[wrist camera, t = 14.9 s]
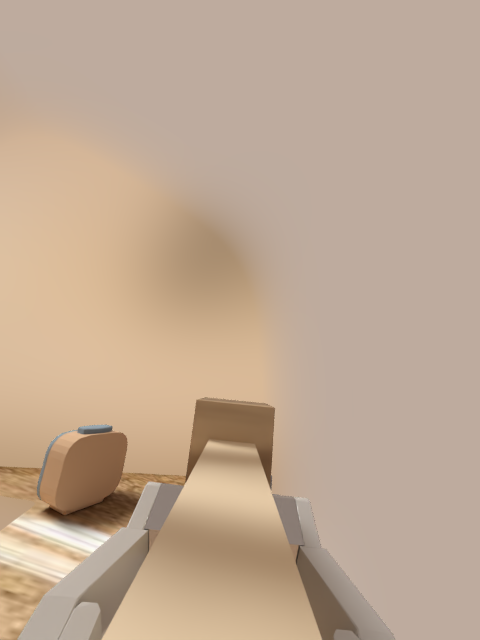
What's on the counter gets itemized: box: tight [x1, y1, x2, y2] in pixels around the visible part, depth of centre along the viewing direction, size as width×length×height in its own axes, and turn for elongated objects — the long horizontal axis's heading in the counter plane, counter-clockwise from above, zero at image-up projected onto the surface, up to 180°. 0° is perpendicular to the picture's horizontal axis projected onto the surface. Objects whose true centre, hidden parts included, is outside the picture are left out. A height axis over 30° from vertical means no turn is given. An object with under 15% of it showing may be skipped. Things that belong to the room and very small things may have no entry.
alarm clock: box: [37, 425, 127, 515], centre depth 78 cm, size 21×10×22 cm, turn 153°
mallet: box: [102, 398, 322, 640], centre depth 11 cm, size 20×5×5 cm, turn 1°
